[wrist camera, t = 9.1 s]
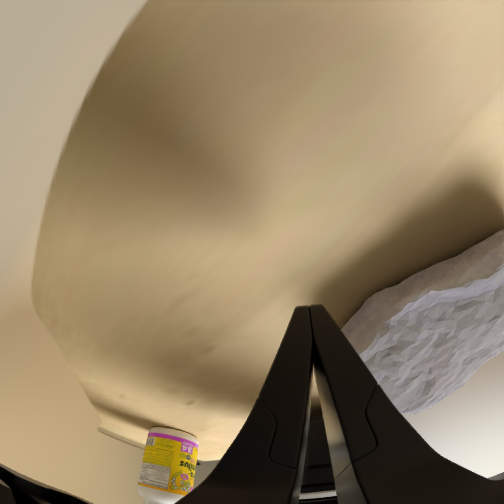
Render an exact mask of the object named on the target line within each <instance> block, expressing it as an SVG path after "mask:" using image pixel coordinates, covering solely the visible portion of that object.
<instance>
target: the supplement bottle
mask: <svg viewBox="0 0 504 504" xmlns="http://www.w3.org/2000/svg"><path fill="white" fill-rule="evenodd" d="M198 445H199V441H198V439H197V438H196V437H195V436H193V435H191V434H189V433H186V432H183V431H180V430H176V429H171V428H164V427H154V428H151V429H150V430H149V434H148V438H147V442H146V447H145V452H144V457H143V462H142V467H141V472H140V477H139V482H138V488H137V489H138V492H139V494H140V495H141V496H142V497H143V498H144V499H145V504H174V503H175V502H177V501H178V500H180V499H181V498H182V497H184V496H185V495H186V494H188V493H189V492H190V491H192V488H193V482H194V475H195V474H194V473H195V467H196V460H197V453H198Z"/></svg>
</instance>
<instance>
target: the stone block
mask: <svg viewBox="0 0 504 504" xmlns="http://www.w3.org/2000/svg"><path fill="white" fill-rule="evenodd" d="M341 331H342V332H343V333H344V335H345V336H346V338H347V339H348V340H349V342H350V343H351V345H352V346H353V348H354V349H355V350H356V352H357V353H358V355H359V356H360V358H361V359H362V360H363V362H364V363H365V365H366V366H367V368H368V369H369V370H370V372H371V373H372V375H373V376H374V378H375V379H376V381H377V382H378V384H379V385H380V386H381V388H382V389H383V391H384V392H385V394H386V395H387V396H388V398H389V399H390V400H391V402H392V403H393V404H394V406H395V407H396V408H397V409H398V411H399V412H400V413H401V414H408V413H410V414H413V413H414V414H415V413H418V412H421V411H423V410H425V409H428V408H430V407H432V406H434V405H436V404H437V403H439V402H440V401H442V400H443V399H444V398H446V397H447V396H448V395H450V394H451V393H452V392H454V391H456V390H457V389H459V388H461V387H462V386H463V385H464V384H465V383H466V382H467V381H468V379H469V378H470V377H471V376H472V374H473V373H474V372H475V371H476V370H477V369H478V368H479V367H481V366H482V365H483V364H484V363H485V362H486V361H487V360H489V359H491V358H493V357H495V356H496V355H498V354H499V353H501V352H502V351H503V350H504V230H501V231H498V232H496V233H495V234H494V235H492V236H490V237H488V238H487V239H485V240H484V241H482V242H480V243H478V244H476V245H474V246H472V247H470V248H469V249H467V250H466V251H464V252H463V253H461V254H459V255H458V256H456V257H453V258H449V259H447V260H444V261H442V262H439V263H437V264H434V265H432V266H430V267H428V268H426V269H424V270H422V271H420V272H418V273H416V274H414V275H412V276H410V277H408V278H407V279H405V280H403V281H402V282H401V283H400V284H398V285H395V286H393V287H390V288H385V289H383V290H382V291H379V292H376V293H375V294H373V295H372V296H371V297H369V298H368V299H367V300H366V301H365V302H364V304H363V306H362V307H361V308H360V309H359V310H358V311H357V312H356V313H355V314H354V315H353V316H352V317H351V318H350V319H349V320H348V321H347V323H346V324H345V325H344V326H343V328H342V329H341ZM378 384H377V385H378Z"/></svg>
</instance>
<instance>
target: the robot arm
mask: <svg viewBox="0 0 504 504" xmlns="http://www.w3.org/2000/svg"><path fill="white" fill-rule="evenodd" d="M313 367H314V374H315V379H316V384H317V388H318V393H319V398H320V403H321V408H322V414H323V416H317V417H310V407H311V395H312V382H313ZM377 384H378V382H377V381H376V379H375V378H374V376H373V375H372V373H371V372H370V370H369V369H368V368H367V366H366V365H365V363H364V362H363V360H362V359H361V358H360V356H359V355H358V353H357V352H356V350H355V349H354V348H353V346H352V345H351V343H350V342H349V340H348V339H347V338H346V336H345V335H344V333H343V332H342V331H341V329H340V328H339V326H338V325H337V324H336V322H335V321H334V319H333V318H332V317H331V315H330V314H329V313H328V311H327V310H326V308H325V307H324V306H323V305H322V304H313V305H310V306H307V305H304V306H297V307H295V309H294V312H293V314H292V317H291V319H290V322H289V324H288V327H287V329H286V332H285V334H284V337H283V339H282V342H281V344H280V347H279V349H278V352H277V354H276V356H275V359H274V361H273V363H272V366H271V368H270V370H269V373H268V375H267V377H266V380H265V382H264V384H263V387H262V389H261V391H260V393H259V395H258V397H259V398H257V400H256V402H255V404H254V406H253V408H252V410H251V412H250V414H249V416H248V418H247V420H246V422H245V424H244V425H243V427H242V429H241V430H240V432H239V434H238V435H237V437H236V438H235V440H234V441H233V443H232V444H231V446H230V447H229V448H228V450H227V451H226V453H225V454H224V456H223V457H222V458H221V460H220V461H219V462H218V464H217V465H216V467H215V468H214V469H213V471H212V472H211V473H210V474H209V475H208V476H207V478H206V479H205V480H204V481H203V482H202V483H201V484H199V485H198V486H197V487H196V488H195V489H193V490H192V491H190V492H189V493H188V494H186V495H185V496H184V497H182V498H181V499H180V500H178V501H177V502H175V503H174V504H504V472H503V473H500V474H498V475H495V476H493V477H490V478H485V477H483V476H480V475H478V474H476V473H474V472H472V471H470V470H468V469H466V468H464V467H462V466H459V465H458V464H456V463H454V462H452V461H450V460H448V459H446V458H444V457H443V456H441V455H440V454H438V453H437V452H436V451H435V450H434V449H432V448H431V447H430V446H429V445H428V443H427V442H426V441H425V440H424V439H423V438H422V437H421V436H420V435H419V434H418V433H417V431H416V430H415V429H414V428H413V427H412V426H411V424H410V423H409V422H408V421H407V420H406V419H405V418H404V417H403V415H402V414H401V413H400V412H399V411H398V409H397V408H396V407H395V406H394V404H393V403H392V402H391V400H390V399H389V398H388V396H387V395H386V394H385V392H384V391H383V389H382V388H381V386H380V385H379V384H378V385H377ZM335 491H336V494H337V496H332V497H324V498H314V499H299V496H300V495H307V494H318V493H327V492H335ZM0 504H93V503H90V502H88V501H86V500H84V499H82V498H80V497H77V496H75V495H72V494H70V493H68V492H65V491H62V490H60V489H57V488H54V487H51V486H49V485H46V484H43V483H41V482H38V481H36V480H33V479H31V478H29V477H27V476H25V475H22V474H20V473H18V472H16V471H14V470H12V469H10V468H8V467H6V466H4V465H2V464H0Z"/></svg>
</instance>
